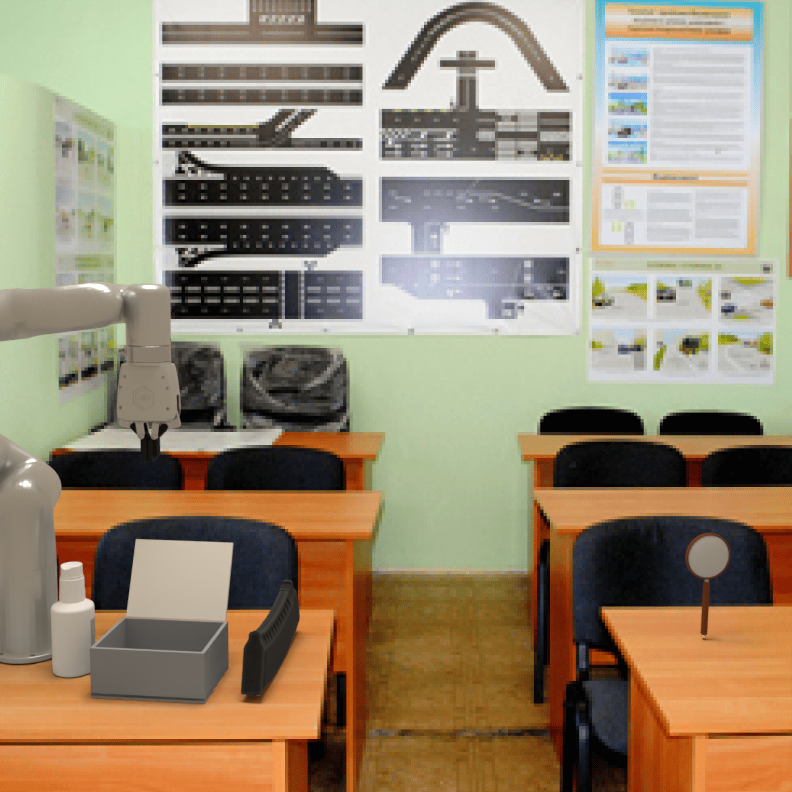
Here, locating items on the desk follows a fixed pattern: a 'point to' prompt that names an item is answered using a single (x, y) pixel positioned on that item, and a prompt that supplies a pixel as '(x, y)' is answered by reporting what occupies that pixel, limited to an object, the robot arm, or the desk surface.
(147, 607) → the carton flap
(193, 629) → the carton
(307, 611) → the desk surface
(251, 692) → the magazine
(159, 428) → the robot arm
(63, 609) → the spray bottle
